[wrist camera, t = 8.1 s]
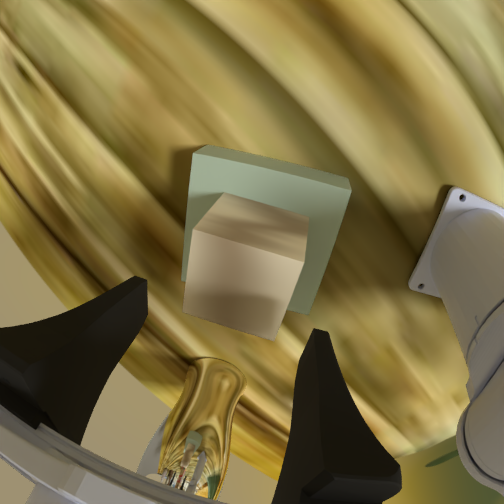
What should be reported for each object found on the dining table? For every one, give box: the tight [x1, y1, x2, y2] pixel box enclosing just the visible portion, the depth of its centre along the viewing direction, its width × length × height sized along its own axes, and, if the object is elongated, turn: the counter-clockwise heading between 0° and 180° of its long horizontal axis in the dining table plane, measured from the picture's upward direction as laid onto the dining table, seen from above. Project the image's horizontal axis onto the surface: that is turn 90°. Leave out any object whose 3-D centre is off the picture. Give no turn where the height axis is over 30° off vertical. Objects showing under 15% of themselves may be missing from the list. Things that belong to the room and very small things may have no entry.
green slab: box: [181, 145, 352, 315], centre depth 21 cm, size 9×9×3 cm
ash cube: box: [182, 192, 309, 341], centre depth 17 cm, size 5×5×5 cm
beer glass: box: [136, 358, 247, 501], centre depth 24 cm, size 7×7×15 cm
